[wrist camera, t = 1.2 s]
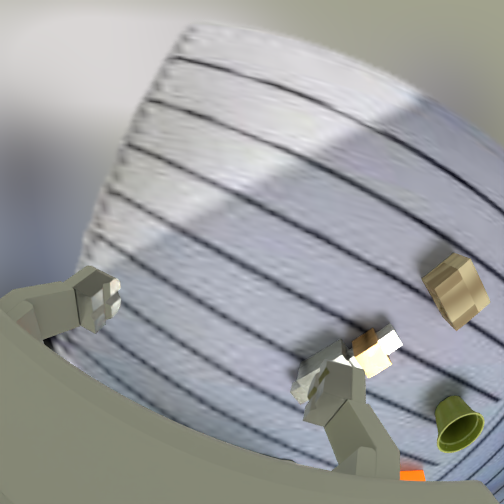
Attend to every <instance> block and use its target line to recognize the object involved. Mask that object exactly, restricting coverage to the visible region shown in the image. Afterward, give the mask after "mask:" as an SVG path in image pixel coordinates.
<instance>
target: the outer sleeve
mask: <svg viewBox="0 0 504 504" xmlns="http://www.w3.org/2000/svg"><path fill="white" fill-rule="evenodd" d="M347 351H349V349H348V347H347V346H346V345H345V343H344V342H343V340H342V339H339V340H337V341H336V342H334V343H333V344H331V345H329V346H328V347H326V348H325V349H323V350H321V351H320V352H318V353H316V354H315V355H313V356H311V357H309V358H308V359H306V360H304V361H303V362H301V363H300V368H299V373H298V377H297V382H298V383H299V384H300V385H301V387H302V388H303V389H304V390H305V392H306V393H307V394H308V391H309V387H310V384H311V382H312V380H313V378H314V376H315V374H316V373H318V372H320V366H321V364H322V362H323V361H324V360H325V359H328V360H332V361H335V362H339V363H342V364H346V365H349V366H351V364H350V363H349V362H348V360H347V359H346V352H347ZM365 388H366V385H365Z"/></svg>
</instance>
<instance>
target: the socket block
mask: <svg viewBox="0 0 504 504" xmlns="http://www.w3.org/2000/svg"><path fill="white" fill-rule="evenodd" d="M422 281H423V283H424V284H425V286H426V288H427V289H428V291H429V293H430V295H431V296H432V298H433V300H434V302H435V304H436V306H437V307H438V309H439V311H440V313H441V315H442V317H443V318H444V319H445V320H446V321H447V322H448V323H449V324H450V325H451V326H452V327H453V328H454V329H455V330H456V331H457V330H458V329H460V328H461V327H462V326H463V325H465V324H466V323H467V322H468V321H469V320H471V319H472V318H473V317H474V316H475V315H477V314H478V313H479V312H480V311H481V310H482V309H483V308H485V307H486V306H487V305H488V304H489V303H490V300H489V297H488V295H487V293H486V291H485V288H484V286H483V284H482V282H481V280H480V277H479V275H478V273H477V271H476V269H475V267H474V265H473V263H472V261H471V259H470V258H467V257H464V256H462V255H459V254H456V253H453V254H451V255H450V256H449V257H448V258H447V259H445V260H444V261H443V262H442V263H441V264H439V265H438V266H437V267H436V268H434V269H433V270H432V271H431V272H430V273H428V274H427V275H426V276H424V277H423V278H422Z"/></svg>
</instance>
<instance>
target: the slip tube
mask: <svg viewBox="0 0 504 504" xmlns="http://www.w3.org/2000/svg"><path fill="white" fill-rule="evenodd" d="M352 345H353V348H352V349H350V350H349V351H347V352H346V359H347V360H348V362H349V363H350V364H351V366H354V367H357V368H361V369H364V370H365V374H366V375H367V376H368V378H370V377H372V376H374V375H375V374H377V373H379V372H380V371H382V370H383V369H385V368H387V367H388V366H390V365H391V364H392V363H391V360H390V358H389V355H388V354H390V353H391V352H393V351H394V350H396V349H397V348H399V347H400V346H402V345H403V344H402V342H401V340H400V338H399V337H398V335H397V333H396V332H395V330H394V329H393V327H392V325H391V324H388V325H387V326H385V327H384V328H382V329H381V330H380V331H378V332H377V333H376V332H375V330H374V329H373V328H372V329H370V330H369V331H367V332H366V333H364V334H363V335H361V336H359V337H358V338H356V339H355V340H353V341H352ZM290 393H291V394H292V395H293V396H294V398H295V399H296V400H297V401H298V402H299V403H300V404H302V403H304V402H306V401H308V400H309V399H308V397H307V395H308V394H307V393H306V392H305V390H304V389H303V388H302V387H301V385H300V384H299V383H298V382H297V381H295V382H293V383H292V386H291V390H290Z"/></svg>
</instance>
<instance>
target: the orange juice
mask: <svg viewBox="0 0 504 504" xmlns="http://www.w3.org/2000/svg"><path fill="white" fill-rule="evenodd" d="M400 480H408V481H425V477H424V472H423V470H418V471H400Z"/></svg>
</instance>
